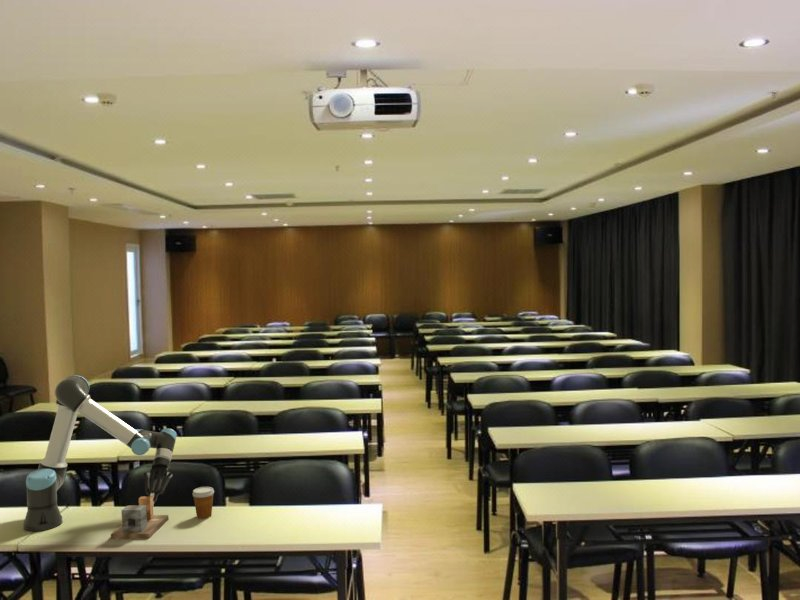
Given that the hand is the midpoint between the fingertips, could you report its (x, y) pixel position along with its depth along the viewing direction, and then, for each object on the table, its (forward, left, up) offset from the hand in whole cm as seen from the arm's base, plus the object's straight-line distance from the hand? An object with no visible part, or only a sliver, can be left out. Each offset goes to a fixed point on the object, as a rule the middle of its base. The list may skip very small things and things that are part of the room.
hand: (149, 508), depth 308 cm
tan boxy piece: (+1, -8, -3) cm, 8 cm away
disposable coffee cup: (+20, +11, -6) cm, 24 cm away
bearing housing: (+2, -10, -6) cm, 12 cm away
